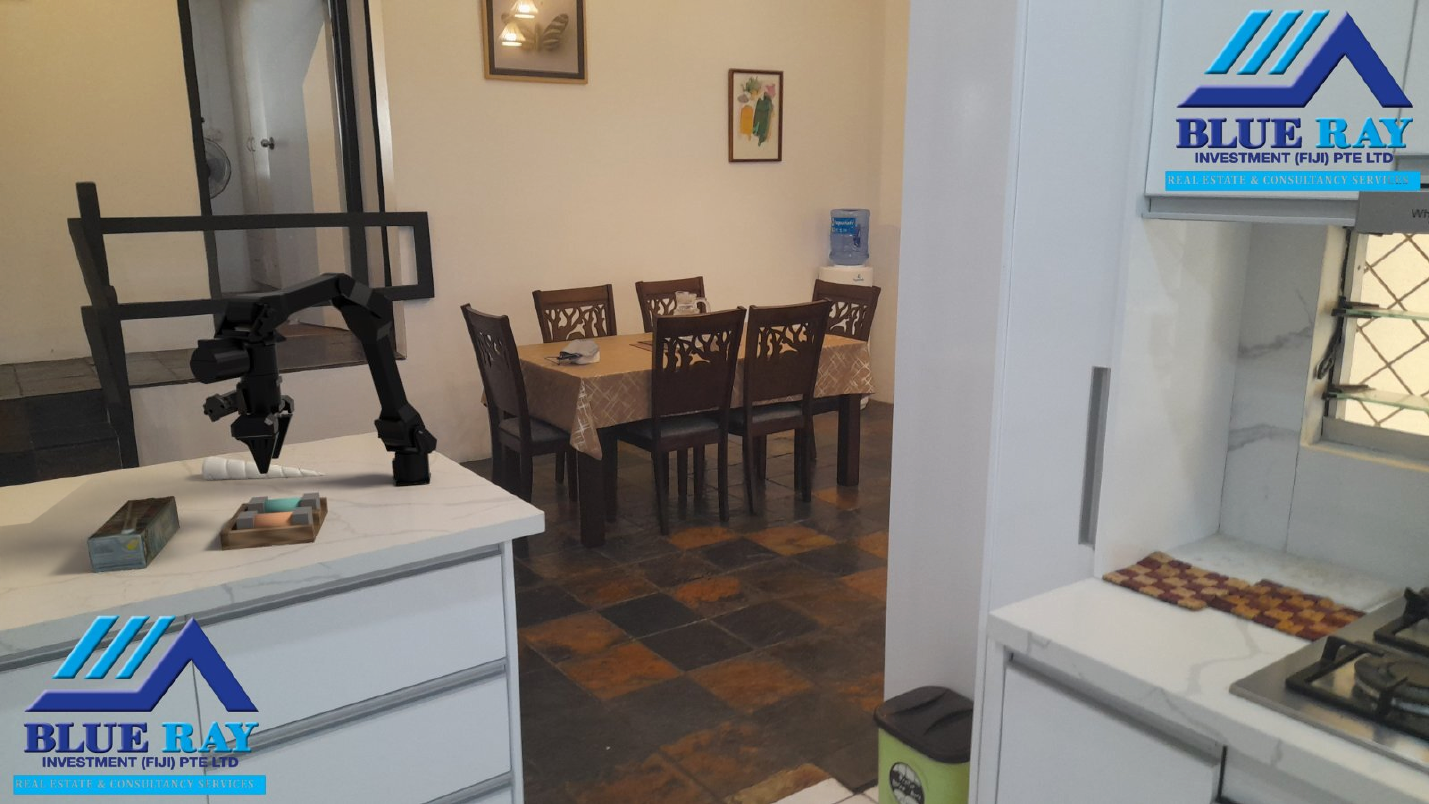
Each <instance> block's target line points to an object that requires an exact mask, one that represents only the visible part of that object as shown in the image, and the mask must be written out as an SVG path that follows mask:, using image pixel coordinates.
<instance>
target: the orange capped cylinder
mask: <svg viewBox="0 0 1429 804" xmlns="http://www.w3.org/2000/svg"><path fill="white" fill-rule="evenodd" d="M236 523H237V530H246V529H258V528H270V527H282V526H294V525H307V524H313V516H312V507H311V506H310V507H297V508H295V510H294V512H281V513H268V514H258V511H245V512H241V513H240V514H239V516H238V517H237V518H236Z"/></svg>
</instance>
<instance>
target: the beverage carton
mask: <svg viewBox="0 0 1429 804" xmlns="http://www.w3.org/2000/svg"><path fill="white" fill-rule="evenodd" d="M177 507H178V506H177V501H176V497H175V496H173V495H170V496H169V495H168V496H164V497H147V498H143V499H142V498H141V499H128V500H127V501H126V502H124V504H122V506H120V507H119V509H117V511H116V512H115V513H113V514H112V516H110V517H109V519H108V520H106V521H105V523H103V524H102V526H100V527H99V528H98V529H97V530H96V531H95V532H94V533H92V534H91V535H90V536H89V537H88V538H87V539H86V540H87V541H86V542H87V547H88V556H89V560H90V566H91V567H92V571H93V574H100V573H99V572H101V573H108V572H107V571H112V572H121V570H123V571H130V570H131V571H132V569H134V570H141V569H147V567H148V566H149V565H150V564H151V563H152V562H153V561H154V560H155V559H156V557H157V556H158V555H159V553H160V552H161V551H162V550H163V549H164V548H165V546H166V545H167V544H168V542H170V540H171V539H172V538H173V536H175V534H176V533H177V532H178V531H179V530H180V529H181V524H180V520H179V519H180V518H179V513H178V508H177Z"/></svg>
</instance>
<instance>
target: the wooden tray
mask: <svg viewBox="0 0 1429 804" xmlns="http://www.w3.org/2000/svg"><path fill="white" fill-rule="evenodd" d="M248 503H249V502H245V503H244V502H243V503H242V504H241V505H240V506H239V508H238V509H237V510H236V511H235V512H234V514H233V516H232V517H231V518H230V520H229V521H228V523H226V525H225V526H224V528H223V529H222V531H221V532H220V533H219V539H220V547H221V551H228V550H229V551H230V550H240V549H253V548H262V547H263V546H264V547H265V546H266V547H273V546H272V545H278V546H285V545H284V544H289V545H298V544H299V545H300V543H301V544H308V543H309V544H310V542H312V543H315V541H316V539H317V537H318V534H319V533H320V530H321V528H322V526H323V523H324V521H325V520H326V517H327V515H328V512H329V511H328V507H329V506H328V498H327V496H324V497H320V507H321V509H313V510H312V516H313V524H307V525H294V526H282V527H270V528H258V529H246V530H237V523H236V518H237V517H238V516H239V514H240V513H241V512H245V511H248V505H247V504H248ZM288 512H294V511H288ZM275 513H281V512H275ZM262 514H268V513H262ZM316 536H317V537H316Z"/></svg>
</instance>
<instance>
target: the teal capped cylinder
mask: <svg viewBox="0 0 1429 804" xmlns="http://www.w3.org/2000/svg"><path fill="white" fill-rule="evenodd" d="M320 498H321V497H320V492H308V493H303V495H302V496H300V497H287V498H286V497H285V498H275V499H274V498H273V499H272V498H271V499H269V497H268V496H267V495H266V496H256V497H255V496H252V497H251V498H250V500H249V501H248V502H247V503H248V504H247V505H248V511H258V514H262V513H275V512H288V511H294V510H295V508H297V507H310V506H311V507H312V510H313V509H321V507H320Z"/></svg>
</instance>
